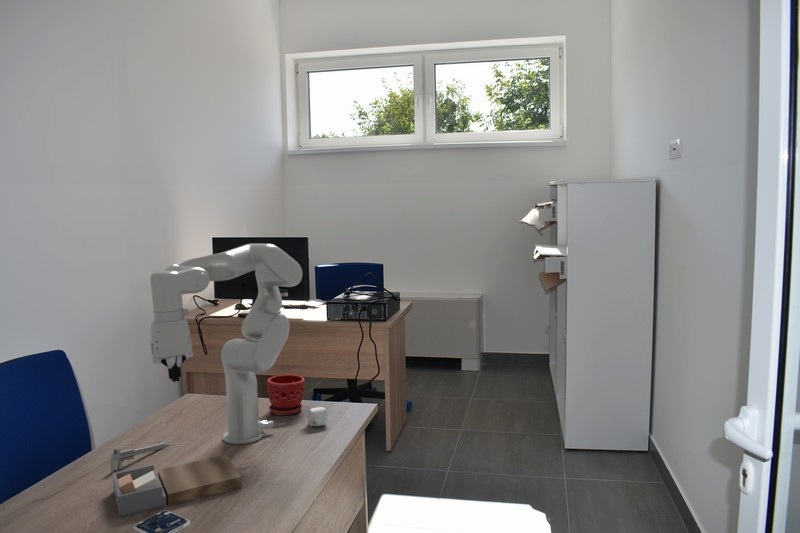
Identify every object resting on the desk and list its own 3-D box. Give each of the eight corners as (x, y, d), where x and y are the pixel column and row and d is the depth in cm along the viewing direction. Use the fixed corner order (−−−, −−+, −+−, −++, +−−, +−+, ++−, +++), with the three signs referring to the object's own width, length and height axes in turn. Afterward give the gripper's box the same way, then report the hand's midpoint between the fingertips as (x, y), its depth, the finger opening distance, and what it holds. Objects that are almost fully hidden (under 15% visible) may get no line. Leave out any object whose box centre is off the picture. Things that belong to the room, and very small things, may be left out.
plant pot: (295, 419, 204) (294, 385, 203) (261, 415, 208) (260, 382, 207) (311, 406, 217) (310, 374, 216) (279, 403, 221) (278, 372, 220)
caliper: (114, 474, 165) (112, 451, 164) (111, 473, 165) (109, 451, 164) (170, 445, 183) (168, 425, 183) (167, 445, 184) (166, 425, 183)
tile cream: (157, 480, 154) (152, 470, 153) (160, 488, 150) (155, 478, 149) (137, 490, 152) (133, 480, 151) (140, 498, 148) (135, 488, 147)
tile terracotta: (130, 473, 150) (117, 479, 149) (132, 481, 146) (119, 487, 145) (137, 490, 151) (125, 496, 150) (139, 498, 147) (127, 504, 146)
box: (157, 481, 159) (156, 463, 158) (166, 505, 146) (165, 485, 145) (113, 491, 153) (112, 473, 153) (119, 517, 141) (117, 497, 140)
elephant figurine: (312, 432, 192) (311, 410, 192) (302, 423, 201) (301, 402, 200) (334, 427, 196) (333, 406, 195) (323, 418, 204) (322, 398, 204)
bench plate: (226, 465, 168) (225, 454, 168) (241, 487, 155) (241, 476, 154) (158, 480, 159) (158, 469, 159) (168, 505, 146) (168, 494, 145)
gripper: (193, 309, 169) (199, 371, 172) (137, 317, 161) (144, 382, 164) (200, 314, 163) (206, 378, 165) (141, 322, 155) (148, 390, 158)
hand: (175, 380), depth 165 cm, fingers closed
